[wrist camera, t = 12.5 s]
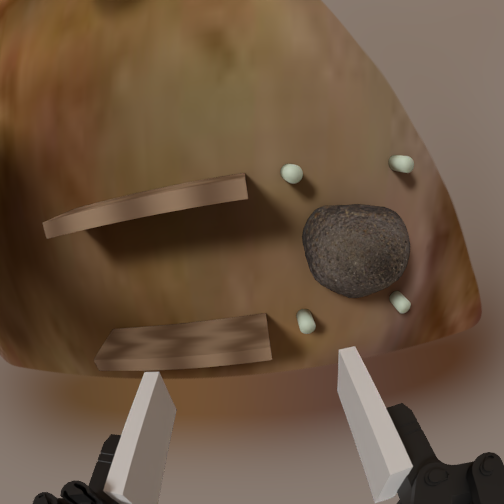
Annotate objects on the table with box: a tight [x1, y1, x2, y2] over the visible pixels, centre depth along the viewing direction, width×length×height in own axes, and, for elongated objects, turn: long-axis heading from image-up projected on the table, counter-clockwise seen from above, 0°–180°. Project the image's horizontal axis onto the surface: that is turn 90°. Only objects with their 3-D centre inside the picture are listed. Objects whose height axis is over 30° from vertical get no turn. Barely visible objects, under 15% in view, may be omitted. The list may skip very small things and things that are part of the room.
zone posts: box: [280, 155, 414, 334], centre depth 27 cm, size 13×17×2 cm
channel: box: [43, 173, 272, 371], centre depth 26 cm, size 18×16×6 cm
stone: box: [302, 204, 410, 298], centre depth 27 cm, size 10×8×10 cm
